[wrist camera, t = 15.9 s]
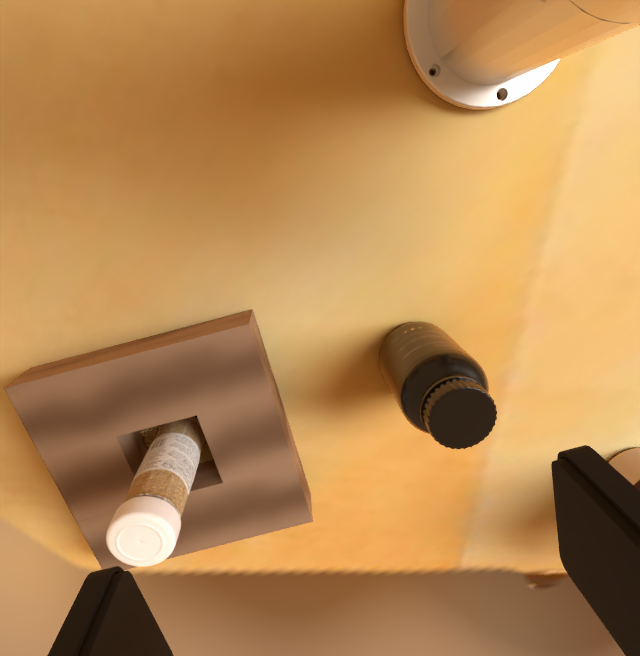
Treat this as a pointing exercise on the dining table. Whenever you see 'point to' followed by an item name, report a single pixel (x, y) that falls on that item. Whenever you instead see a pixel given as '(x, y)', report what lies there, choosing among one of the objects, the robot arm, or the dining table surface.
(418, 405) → the supplement bottle
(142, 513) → the sprinkles bottle
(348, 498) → the dining table surface
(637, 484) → the coffee cup
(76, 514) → the walnut holder
